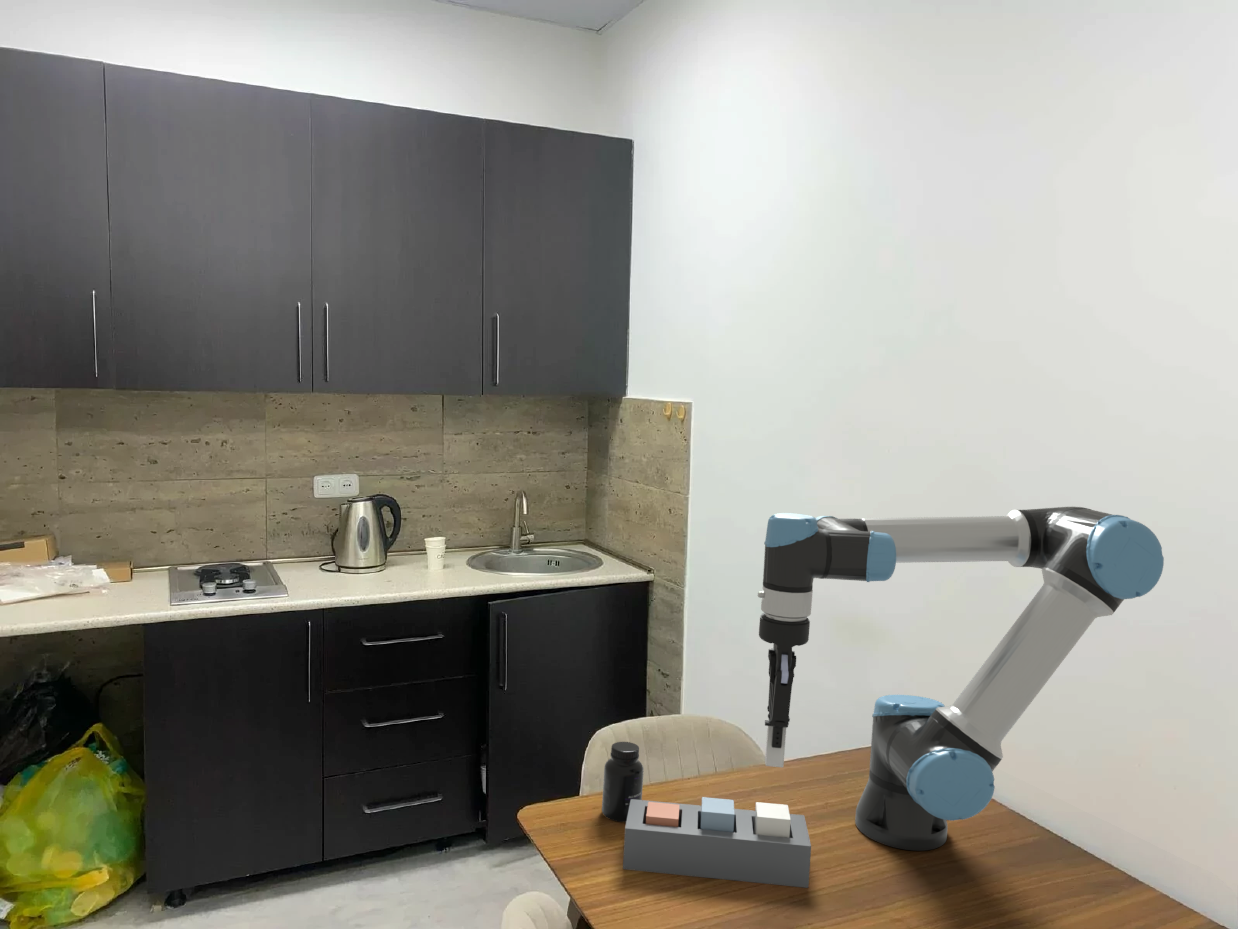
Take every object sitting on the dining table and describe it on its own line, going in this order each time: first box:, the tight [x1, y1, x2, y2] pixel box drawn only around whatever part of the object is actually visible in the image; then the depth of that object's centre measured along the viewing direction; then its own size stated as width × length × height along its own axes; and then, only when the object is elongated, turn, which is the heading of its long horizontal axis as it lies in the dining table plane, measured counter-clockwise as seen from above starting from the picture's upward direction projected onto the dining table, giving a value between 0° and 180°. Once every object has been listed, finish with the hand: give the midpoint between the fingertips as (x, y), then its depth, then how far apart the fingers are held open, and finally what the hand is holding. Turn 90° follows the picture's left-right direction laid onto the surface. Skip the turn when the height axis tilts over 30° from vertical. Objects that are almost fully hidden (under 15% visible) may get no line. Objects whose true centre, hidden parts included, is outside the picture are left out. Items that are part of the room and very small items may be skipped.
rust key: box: [646, 801, 679, 827], centre depth 142 cm, size 5×5×5 cm
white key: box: [754, 801, 791, 838], centre depth 140 cm, size 5×5×5 cm
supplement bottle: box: [601, 741, 644, 823], centre depth 155 cm, size 7×7×12 cm
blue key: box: [700, 796, 735, 832], centre depth 141 cm, size 5×5×5 cm
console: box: [622, 799, 812, 889], centre depth 141 cm, size 28×10×6 cm, turn 84°
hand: (774, 764), depth 139 cm, fingers closed
